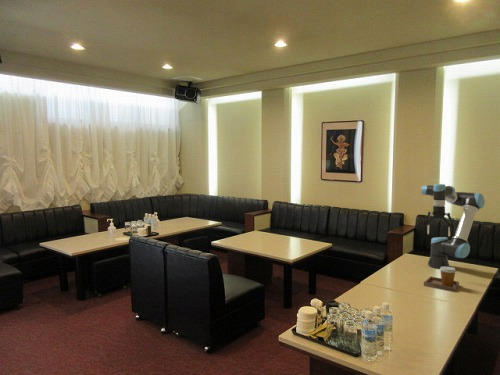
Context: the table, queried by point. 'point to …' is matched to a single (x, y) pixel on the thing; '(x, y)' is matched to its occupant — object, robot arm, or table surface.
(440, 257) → the robot arm
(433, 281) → the walnut tray
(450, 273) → the disposable coffee cup
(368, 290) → the table surface
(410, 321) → the table surface
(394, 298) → the table surface
